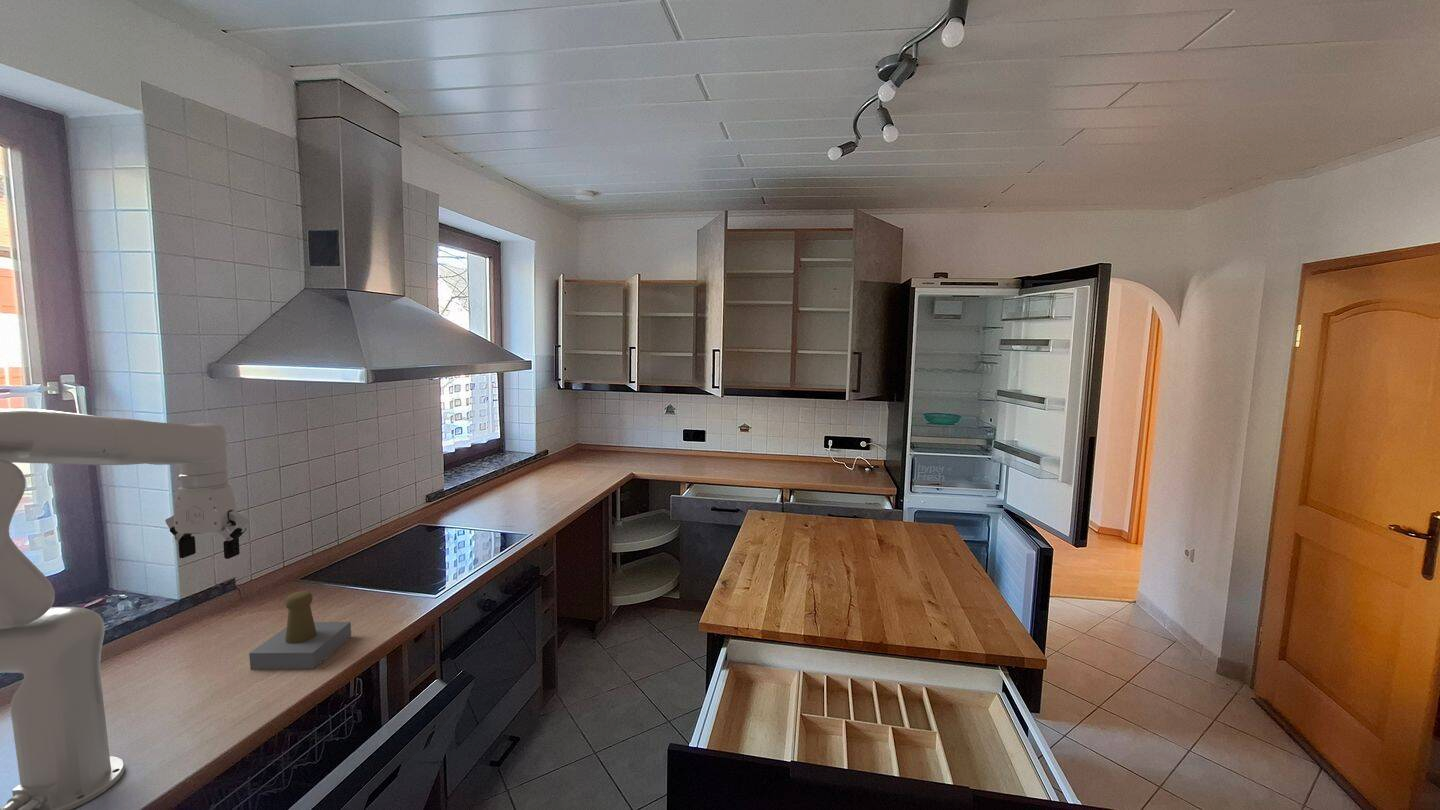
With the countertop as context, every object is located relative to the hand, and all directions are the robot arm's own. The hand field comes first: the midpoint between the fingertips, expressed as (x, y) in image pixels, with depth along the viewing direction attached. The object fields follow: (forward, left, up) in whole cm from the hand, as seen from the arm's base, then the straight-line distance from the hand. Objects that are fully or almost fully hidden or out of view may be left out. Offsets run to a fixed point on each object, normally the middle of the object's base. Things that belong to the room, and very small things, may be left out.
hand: (209, 556), depth 121 cm
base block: (+8, -13, -27) cm, 31 cm away
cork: (+8, -13, -24) cm, 28 cm away
